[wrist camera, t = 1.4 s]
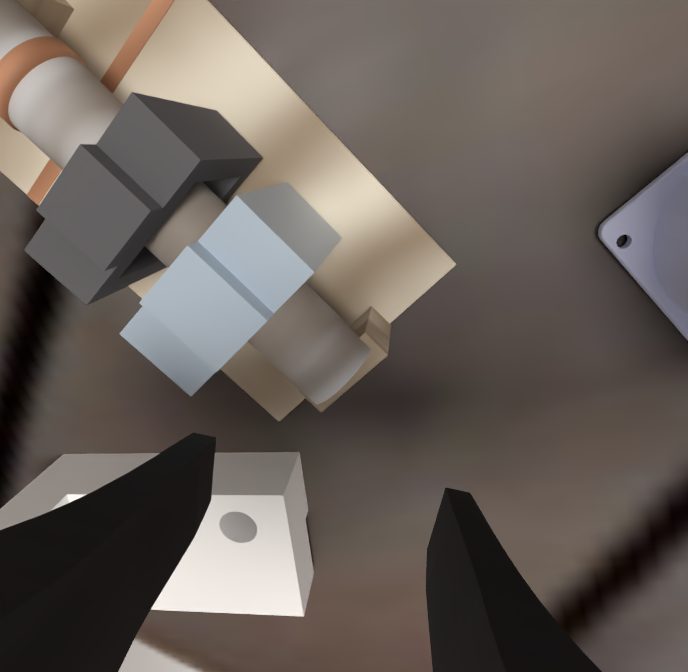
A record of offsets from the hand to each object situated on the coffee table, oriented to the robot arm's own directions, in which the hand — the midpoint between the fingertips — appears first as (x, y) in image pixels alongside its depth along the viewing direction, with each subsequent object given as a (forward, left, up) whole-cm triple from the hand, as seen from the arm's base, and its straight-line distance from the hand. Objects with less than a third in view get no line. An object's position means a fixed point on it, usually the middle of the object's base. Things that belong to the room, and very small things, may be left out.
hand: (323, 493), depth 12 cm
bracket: (0, +13, -10) cm, 17 cm away
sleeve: (+6, 0, -10) cm, 11 cm away
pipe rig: (+9, 0, -10) cm, 13 cm away
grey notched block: (+10, 0, -10) cm, 14 cm away
